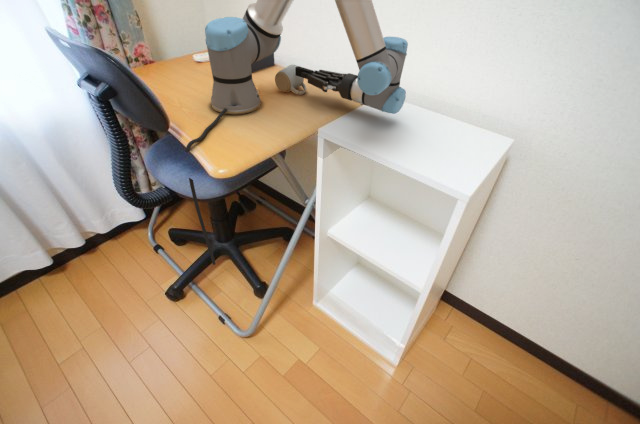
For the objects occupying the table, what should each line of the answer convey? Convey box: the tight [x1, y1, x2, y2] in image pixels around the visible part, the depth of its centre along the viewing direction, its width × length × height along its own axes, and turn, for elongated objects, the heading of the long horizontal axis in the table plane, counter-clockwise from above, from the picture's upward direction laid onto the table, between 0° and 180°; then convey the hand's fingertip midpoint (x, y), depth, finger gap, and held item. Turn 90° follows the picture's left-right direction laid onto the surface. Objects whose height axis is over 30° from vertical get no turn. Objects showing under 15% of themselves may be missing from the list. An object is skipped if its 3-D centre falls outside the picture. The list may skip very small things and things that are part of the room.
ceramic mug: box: [274, 64, 307, 96], centre depth 108 cm, size 11×8×8 cm
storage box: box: [251, 52, 275, 74], centre depth 126 cm, size 13×13×11 cm
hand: (297, 70), depth 105 cm, fingers closed
